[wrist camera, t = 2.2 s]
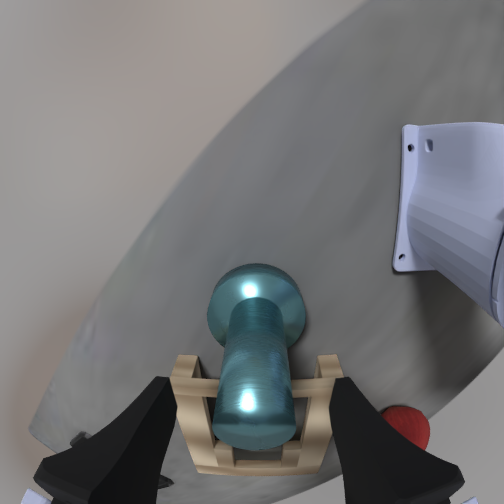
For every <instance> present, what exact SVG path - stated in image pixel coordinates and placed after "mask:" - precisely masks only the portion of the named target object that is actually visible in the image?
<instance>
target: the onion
mask: <svg viewBox="0 0 504 504" xmlns="http://www.w3.org/2000/svg"><path fill="white" fill-rule="evenodd" d="M381 416H382V417H383V418H384V419H385V420H386V421H387V422H388V423H389V424H390V425H391V426H392V427H393V428H395V429H396V430H397V431H398V432H399V433H400V434H402V435H403V436H404V437H405V438H407V439H408V440H409V441H411V442H412V443H414V444H415V445H417V446H418V447H420V448H422V449H423V450H425V449H426V447H427V445H428V441H429V437H430V426H429V422H428V420H427V419H426V417H425V416H424V415H423V413H422V412H421V411H419V410H417V409H414V408H411V407H397V406H392V407H389V408H388V409H387V410H386V411H385V412H384V413H382V414H381Z"/></svg>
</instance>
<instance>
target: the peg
mask: <svg viewBox="0 0 504 504" xmlns="http://www.w3.org/2000/svg"><path fill="white" fill-rule="evenodd" d="M207 320H208V325H209V328H210V331H211V333H212V335H213V336H214V338H215V339H216V340H217V341H218V342H219V343H220V344H221V345H222V346H223V347H224V348H225V350H224V356H223V362H222V368H221V374H220V380H219V386H218V392H217V399H216V405H215V411H214V417H213V423H212V430H213V432H214V434H215V436H216V437H217V438H218V439H219V440H221V441H222V442H224V443H226V444H228V445H230V446H233V447H236V448H240V449H245V450H265V449H270V448H274V447H277V446H280V445H282V444H284V443H286V442H287V441H288V440H290V439H291V438H292V437H293V435H294V434H295V431H296V421H295V412H294V403H293V395H292V386H291V378H290V370H289V362H288V354H287V348H289V347H290V346H291V345H292V344H294V343H295V341H296V340H297V339H298V338H299V336H300V335H301V333H302V331H303V328H304V325H305V320H306V313H305V307H304V304H303V300H302V297H301V293H300V290H299V288H298V286H297V284H296V283H295V281H294V280H293V279H292V278H291V277H290V276H289V275H288V274H287V273H285V272H284V271H282V270H281V269H279V268H276V267H274V266H271V265H267V264H256V263H255V264H247V265H242V266H239V267H237V268H235V269H233V270H231V271H229V272H228V273H226V274H225V275H224V276H223V277H222V278H221V279H220V280H219V282H218V283H217V285H216V286H215V289H214V291H213V294H212V297H211V300H210V304H209V307H208V312H207Z"/></svg>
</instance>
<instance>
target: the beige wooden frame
mask: <svg viewBox="0 0 504 504" xmlns="http://www.w3.org/2000/svg"><path fill="white" fill-rule="evenodd" d="M342 377H344V376H343V373H342V370H341V367H340V364H339V360H338V357H337V354H334V355H319V356H317V362H316V368H315V375H314V379H299V380H291V386H292V395H293V398H298V397H308V402H307V408H306V414H305V419H304V424H303V429H302V434H301V439H300V441H287V442H286V443H284V444H283V446H282V454H281V460H235V457H234V450H233V446H230V445H228V444H226V443H224V442H222V441H220V440H215V437H214V433H213V430H212V424H211V419H210V414H209V409H208V404H207V399H206V397H217V392H218V386H219V380H217V379H202V377H201V372H200V366H199V360H198V356H194V355H178V358H177V361H176V363H175V366H174V369H173V372H172V374H171V377H170V382H171V385H172V389H173V392H174V396H175V399H176V402H177V406H178V408H177V414H176V415H177V418H178V421H179V424H180V427H181V429H182V432H183V435H184V438H185V440H186V443H187V446H188V448H189V451H190V454H191V456H192V459H193V461H194V464H195V466H196V469H197V471H198V473H208V474H219V475H236V476H285V475H302V474H314V473H318V471H319V468H320V466H321V463H322V461H323V458H324V455H325V453H326V450H327V447H328V444H329V441H330V439H331V436H332V433H333V432H332V428H331V423H330V415H329V403H330V399H331V395H332V391H333V387H334V382H335V378H342Z"/></svg>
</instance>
